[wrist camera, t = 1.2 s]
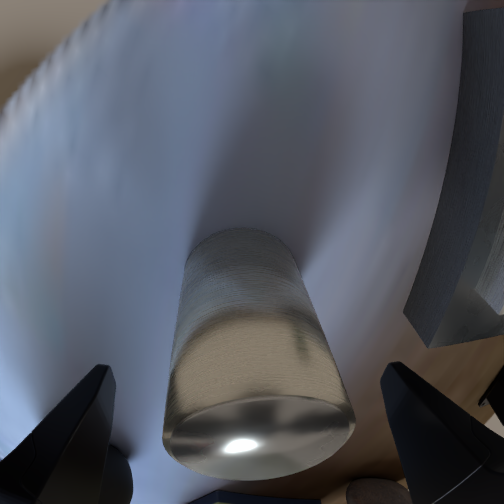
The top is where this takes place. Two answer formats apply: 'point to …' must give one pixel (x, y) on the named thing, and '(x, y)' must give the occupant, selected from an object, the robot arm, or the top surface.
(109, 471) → the cola bottle
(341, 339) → the top surface
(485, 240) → the open metal box
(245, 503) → the protein box
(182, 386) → the tin can
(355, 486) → the perforated stone tool
